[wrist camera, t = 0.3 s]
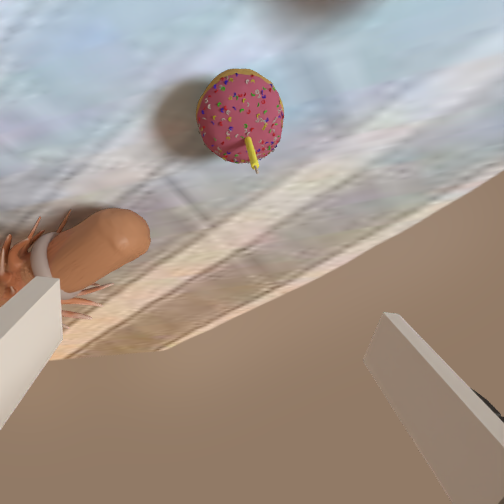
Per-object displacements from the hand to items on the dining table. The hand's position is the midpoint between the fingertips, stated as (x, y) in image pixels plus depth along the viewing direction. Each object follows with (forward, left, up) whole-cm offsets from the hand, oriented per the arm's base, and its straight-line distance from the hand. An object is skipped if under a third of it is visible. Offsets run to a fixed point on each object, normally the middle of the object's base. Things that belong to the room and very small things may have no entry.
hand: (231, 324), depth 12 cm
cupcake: (-1, 0, -28) cm, 28 cm away
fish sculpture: (+28, 0, -28) cm, 39 cm away
